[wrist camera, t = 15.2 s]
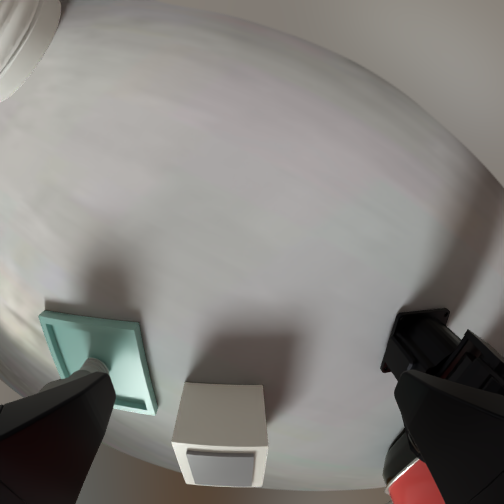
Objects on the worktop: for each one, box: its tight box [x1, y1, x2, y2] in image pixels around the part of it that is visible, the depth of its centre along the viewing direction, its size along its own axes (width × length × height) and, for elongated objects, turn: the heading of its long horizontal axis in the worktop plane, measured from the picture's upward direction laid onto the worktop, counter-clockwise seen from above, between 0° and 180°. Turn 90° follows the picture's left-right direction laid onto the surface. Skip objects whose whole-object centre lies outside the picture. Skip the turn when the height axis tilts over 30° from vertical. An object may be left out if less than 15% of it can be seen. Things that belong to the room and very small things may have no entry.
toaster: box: [382, 432, 445, 504], centre depth 18 cm, size 32×23×23 cm
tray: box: [38, 310, 158, 416], centre depth 22 cm, size 10×10×1 cm
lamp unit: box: [172, 382, 269, 487], centre depth 21 cm, size 7×8×7 cm
